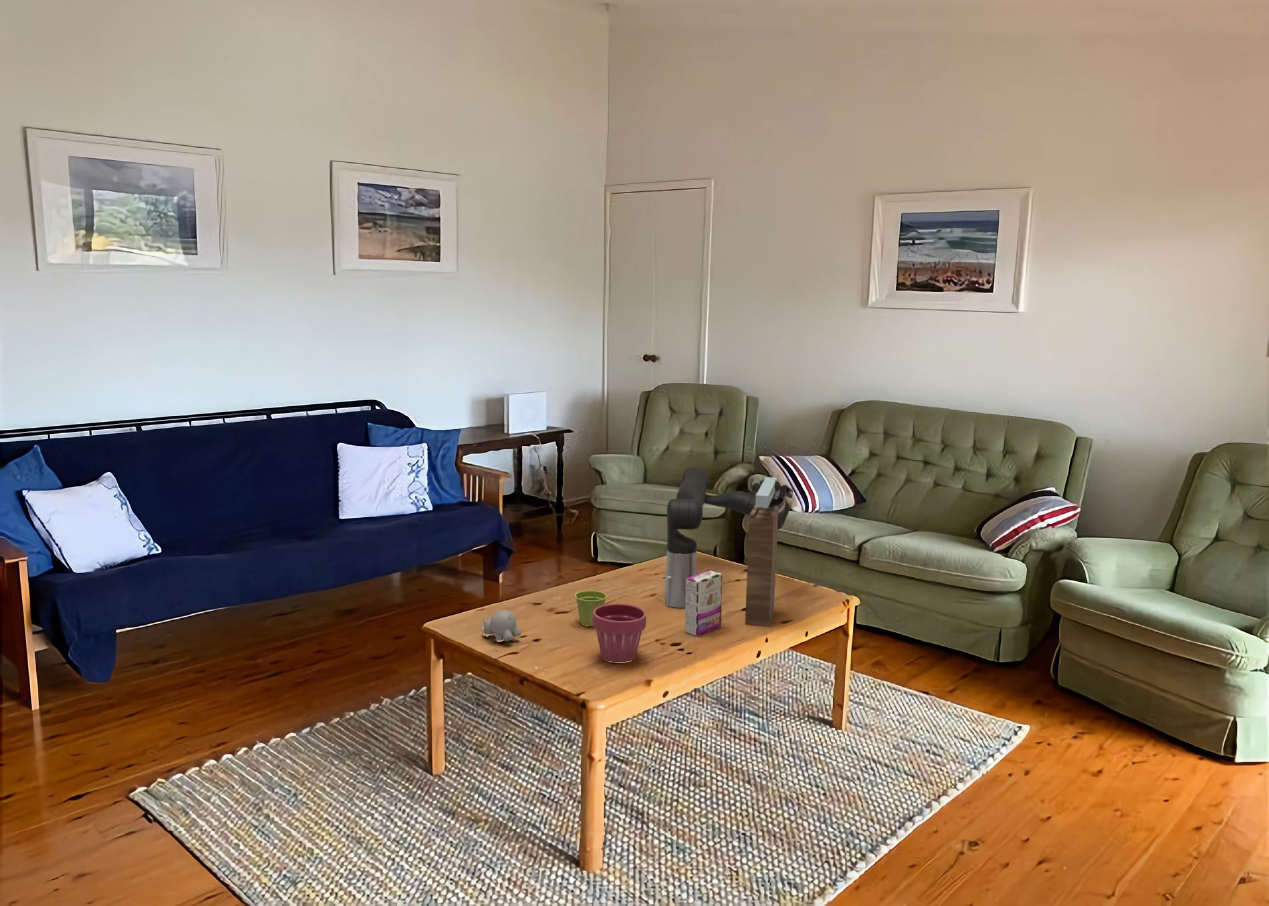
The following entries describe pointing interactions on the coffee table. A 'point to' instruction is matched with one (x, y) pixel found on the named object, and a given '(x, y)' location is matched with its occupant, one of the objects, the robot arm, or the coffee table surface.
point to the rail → (765, 493)
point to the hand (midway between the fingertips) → (769, 483)
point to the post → (761, 566)
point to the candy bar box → (703, 603)
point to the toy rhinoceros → (502, 625)
